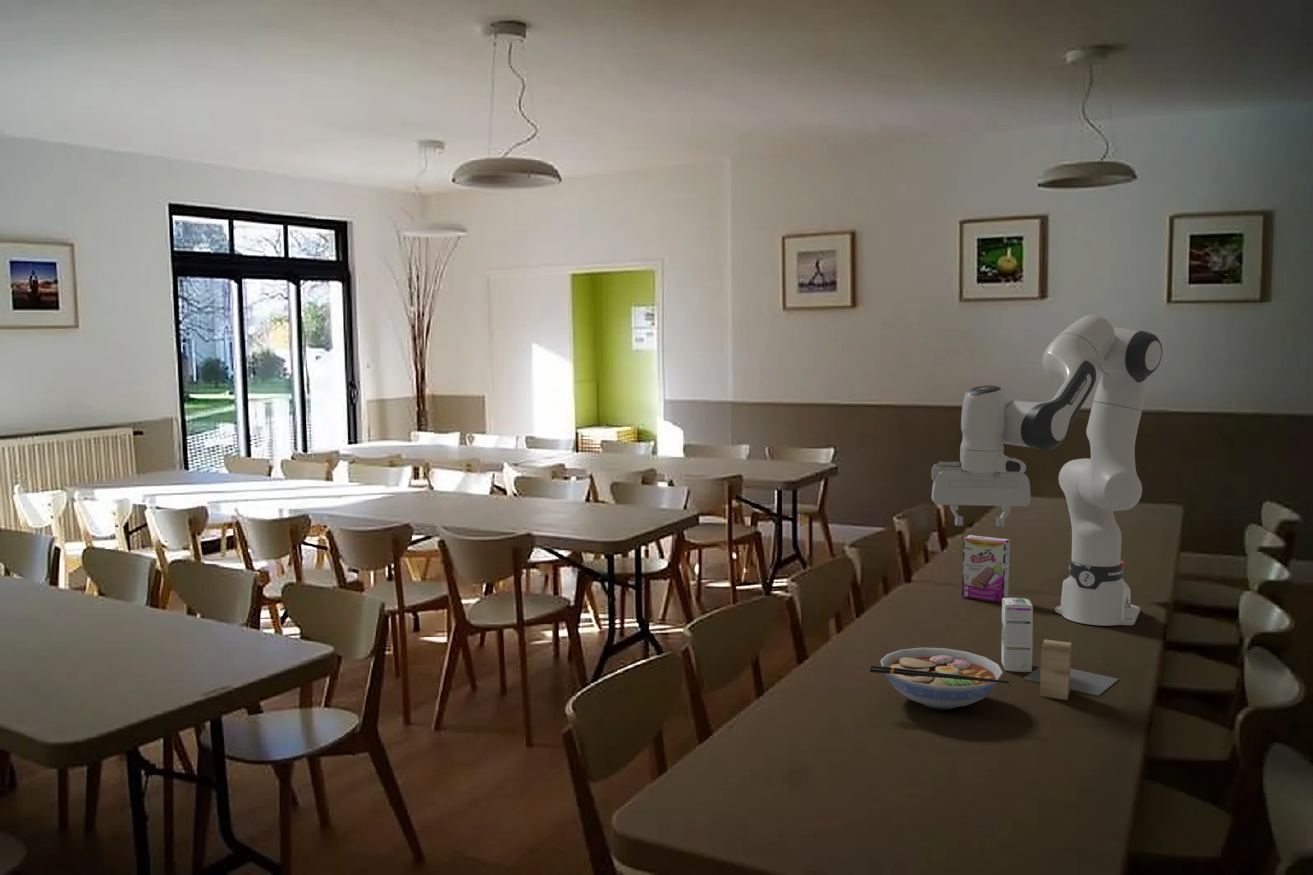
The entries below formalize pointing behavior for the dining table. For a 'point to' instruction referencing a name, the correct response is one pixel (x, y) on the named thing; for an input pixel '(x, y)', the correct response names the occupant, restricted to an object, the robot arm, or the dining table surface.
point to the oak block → (1055, 669)
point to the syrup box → (1017, 634)
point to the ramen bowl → (940, 676)
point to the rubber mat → (1081, 681)
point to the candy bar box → (985, 568)
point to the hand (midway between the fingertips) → (979, 525)
